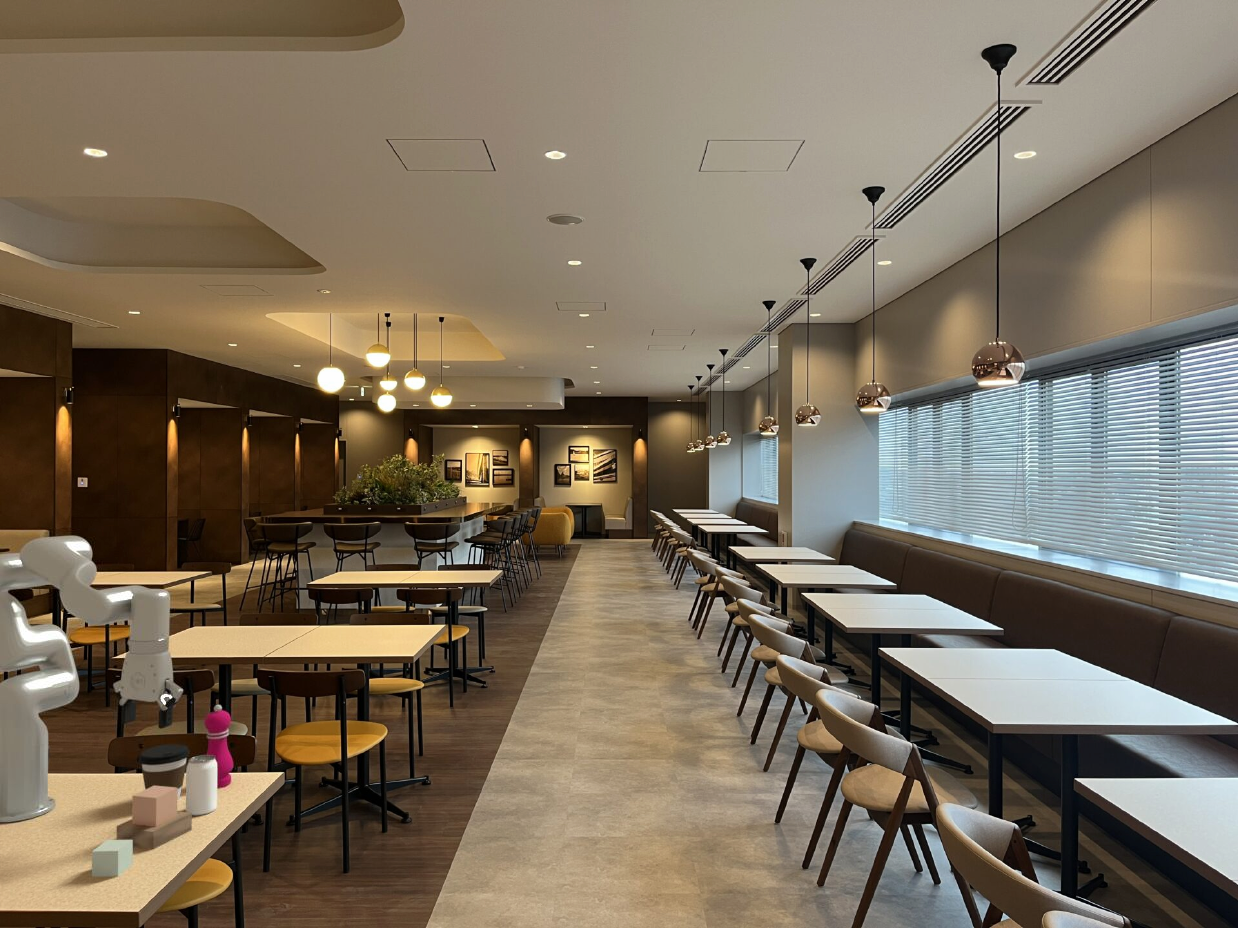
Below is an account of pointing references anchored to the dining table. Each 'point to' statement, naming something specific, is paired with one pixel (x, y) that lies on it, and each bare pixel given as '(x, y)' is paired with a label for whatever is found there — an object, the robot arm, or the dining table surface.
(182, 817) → the walnut block
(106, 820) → the dining table surface
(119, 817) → the dining table surface
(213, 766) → the can
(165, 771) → the coffee cup
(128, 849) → the sage cube
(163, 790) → the clay cube
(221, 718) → the pepper mill
